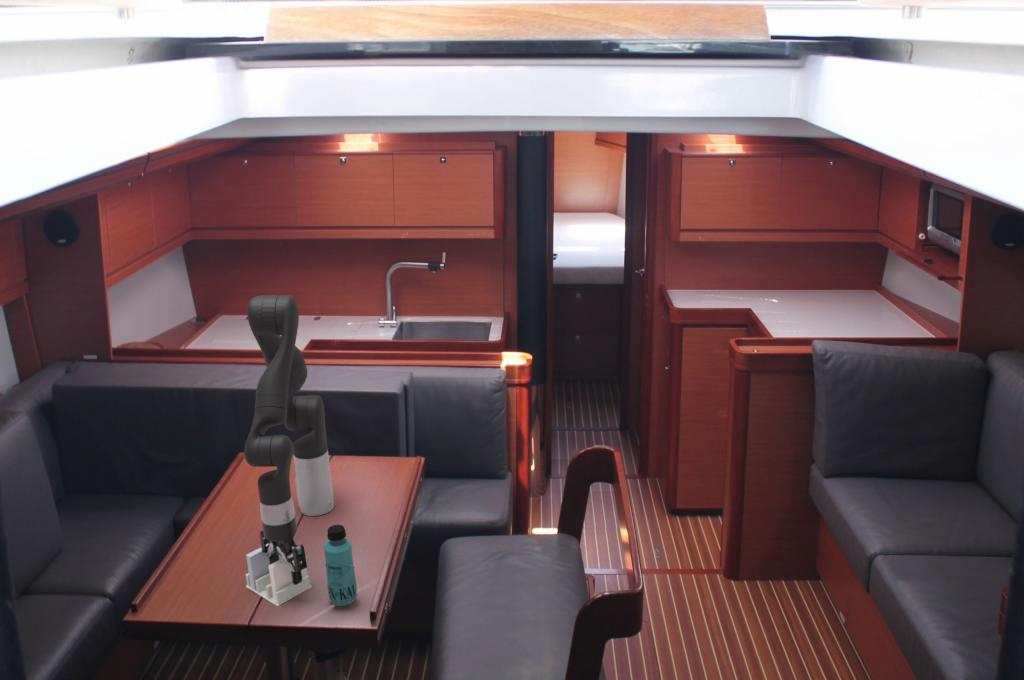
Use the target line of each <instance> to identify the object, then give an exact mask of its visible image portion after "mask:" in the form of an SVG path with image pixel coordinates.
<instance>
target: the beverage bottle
mask: <svg viewBox="0 0 1024 680" xmlns="http://www.w3.org/2000/svg"><path fill="white" fill-rule="evenodd" d="M326 532H327V539H328V540H327V541H326V543H324V545H323V550H324V559H325V569H326V570H325V571H326V580H327V590H328V596H329V601H330V602H331V604H333V605H335V606H341V607H342V606H347V605H350V604H352V603H353V602H354V601H355V600H356V599H357V596H358V590H357V579H356V571H355V565H354V555H353V549H352V548H353V547H352V546H353V544H352V541H351V540H350V539H348V538H346V537H347V533H346V529H345V526H344V525H341V524H334V525H331V526H329V527H328V528H327V531H326Z"/></svg>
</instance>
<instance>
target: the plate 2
mask: <svg viewBox="0 0 1024 680" xmlns="http://www.w3.org/2000/svg"><path fill="white" fill-rule="evenodd" d="M291 557H293V555H292V554H291V555H290V556H288V558H291ZM292 563H293V565H295V564H294V560H293V561H292ZM301 563H302V561H301ZM291 571H292V570H291V568H290V567H289V565H288V564H286V563H285V561H284V559H283V558H282V559H280V560H278V561H276V562H274V563H272V564H271V565H269V573H270V580H271V587H272V593H273V599H274V600H276V592H277V591H279V590H281V589H283V588H285V587H286V586H288V585H290V584H292V583H293V582H292V574H291ZM301 573H302V578H303V577H305V576H306V575H308V567H307V568H305V569H303V570H301ZM276 601H277V600H276Z"/></svg>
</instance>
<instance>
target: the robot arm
mask: <svg viewBox="0 0 1024 680" xmlns="http://www.w3.org/2000/svg"><path fill="white" fill-rule="evenodd" d="M297 301H298V300H297V299H296V298H295V297H294V296H293V295H289V294H288V295H287V294H286V295H285V294H284V295H283V294H277V295H276V294H275V295H274V294H273V295H271V294H269V295H268V294H267V295H266V294H264V295H263V294H262V295H257V296H253V297H252V298H250V300H249V301H248V304H247V308H246V313H247V320H248V321H247V322H248V325H249V328H250V331H251V332H252V335H253V337H254V339H255V340H256V343H257V344H258V346H259V349H260V351H261V354H262V356H263V359H264V362H265V365H266V367H265V368H266V369H265V370H264V372H263V373H262V374H261V376H260V377H259V380H258V382H257V385H256V390H255V401H254V402H255V403H254V416H253V420H252V424H251V427H250V430H249V433H248V436H247V439H246V442H245V444H244V450H243V454H244V459H245V461H246V464H248V465H249V466H251V467H254V468H256V467H257V468H260V467H261V468H263V467H264V468H265V467H272V468H273V467H275V468H276V469H273V470H270V471H266V472H264V473H262V474H260V475H259V477H258V479H257V490H258V496H259V511H260V517H261V525H262V530H260V531H259V537H260V545H261V547H262V552H263V553H265V552H266V553H267V557H268V558H269V562H270V565H271V564H272V563H274V562H276V561H278V560H279V555H280V556H281V557H283V559H284V561H285V563H286V564H288V565H289V567H290V568H291V570H292V571H291V574H292V582H293V584H295V585H297V584H299V583H300V582H302V573H301V570H303V569H305V568H307V569H308V563H307V559H306V558H307V557H306V551H305V547H304V545H303V544H299V545H298V544H296V541H295V540H294V537H295V536H296V533H297V532H298V527H297V520H296V511H295V510H296V509H295V505H294V500H293V497H292V496H293V495H292V491H291V482H290V477H291V476H290V475H291V465H292V460H293V462H294V469H295V476H294V483H295V491H296V499H297V506H298V508H299V509H300V512H301V513H302V514H303V515H305V516H308V517H317V516H322V515H326V514H328V513H330V512H331V511H333V509H334V508H335V501H334V491H333V483H332V482H333V481H332V475H331V473H332V472H331V466H330V457H329V450H328V449H329V447H328V442H327V441H328V440H327V432H326V431H327V430H326V418H325V417H326V414H325V413H326V411H325V405H324V401H323V398H322V397H321V396H320V395H319V394H310V395H309V394H308V395H298V396H297V395H296V394H297V393H298V392H299V391H300V390H301V388H303V385H304V384H305V382H306V380H307V378H308V368H307V364H306V360H305V357H304V354H303V352H302V351H301V350H300V349H299V347H298V346H296V341H297V336H298V328H299V321H300V320H299V319H300V317H299V316H300V315H299V314H300V310H299V303H298V302H297ZM279 425H280V426H281V425H283V426H285V428H286V429H287V430H288V431H291V432H292V431H293V432H298V431H300V432H301V431H310V433H308V434H305V435H303V436H302V437H299V438H298V439H296V440H295V441H294V442H293V441H292V439H291V437H289V436H288V435H286V434H266V432H267V431H268V430H269V429H270V428H272V427H276V426H279ZM266 544H268V546H266ZM261 547H260V548H261ZM291 554H292V555H293V557H291V558H288V556H290V555H291ZM293 560H294V564H295V565H293V563H292V561H293ZM301 561H302V563H301Z"/></svg>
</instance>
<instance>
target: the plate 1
mask: <svg viewBox="0 0 1024 680" xmlns="http://www.w3.org/2000/svg"><path fill="white" fill-rule="evenodd" d="M266 546H268V543H267V544H266ZM245 556H246V563H247V569H248V570H247V571H248V573H249V578H250V584H251V588H252V589H254V590H256V582H255V580H257V579H259V578H261V577H262V576H264V575H266V574H268V573H269V565H270V562H269V558H268V557H267V553H266V552H265V553H263V552H262V547H259V548H257V549H254V550H253V551H251V552H249V553H247V554H245ZM282 558H283V557H281V556H280V555H279V560H280V559H282Z"/></svg>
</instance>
